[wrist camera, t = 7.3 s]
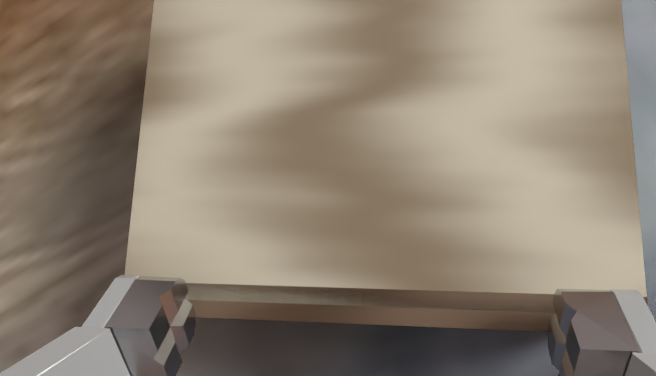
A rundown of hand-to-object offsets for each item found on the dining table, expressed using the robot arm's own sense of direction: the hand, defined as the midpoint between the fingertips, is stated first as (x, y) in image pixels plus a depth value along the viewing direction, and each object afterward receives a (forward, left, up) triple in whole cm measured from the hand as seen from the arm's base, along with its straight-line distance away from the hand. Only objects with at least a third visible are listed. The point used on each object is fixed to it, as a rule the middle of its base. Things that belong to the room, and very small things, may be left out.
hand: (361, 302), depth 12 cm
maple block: (0, 0, -2) cm, 3 cm away
